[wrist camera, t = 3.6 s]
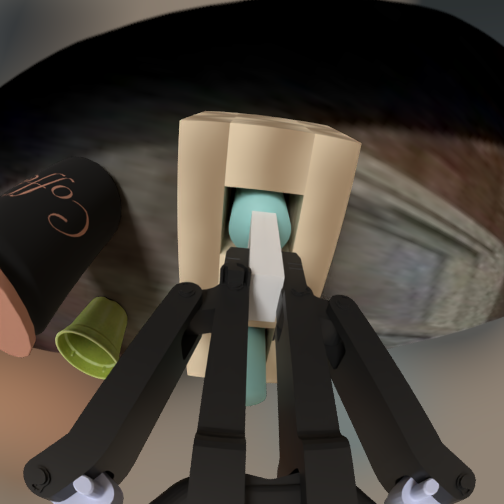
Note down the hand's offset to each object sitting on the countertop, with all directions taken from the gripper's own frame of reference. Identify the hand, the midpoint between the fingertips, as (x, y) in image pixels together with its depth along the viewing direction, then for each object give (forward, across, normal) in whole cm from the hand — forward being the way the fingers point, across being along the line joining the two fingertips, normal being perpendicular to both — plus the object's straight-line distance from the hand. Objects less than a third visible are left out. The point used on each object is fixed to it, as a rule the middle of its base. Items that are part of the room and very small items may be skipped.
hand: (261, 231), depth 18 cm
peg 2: (+4, 0, -12) cm, 13 cm away
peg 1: (+8, 0, 0) cm, 8 cm away
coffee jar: (+10, -19, -3) cm, 22 cm away
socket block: (+10, 0, -6) cm, 11 cm away
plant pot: (+10, -19, -20) cm, 29 cm away
